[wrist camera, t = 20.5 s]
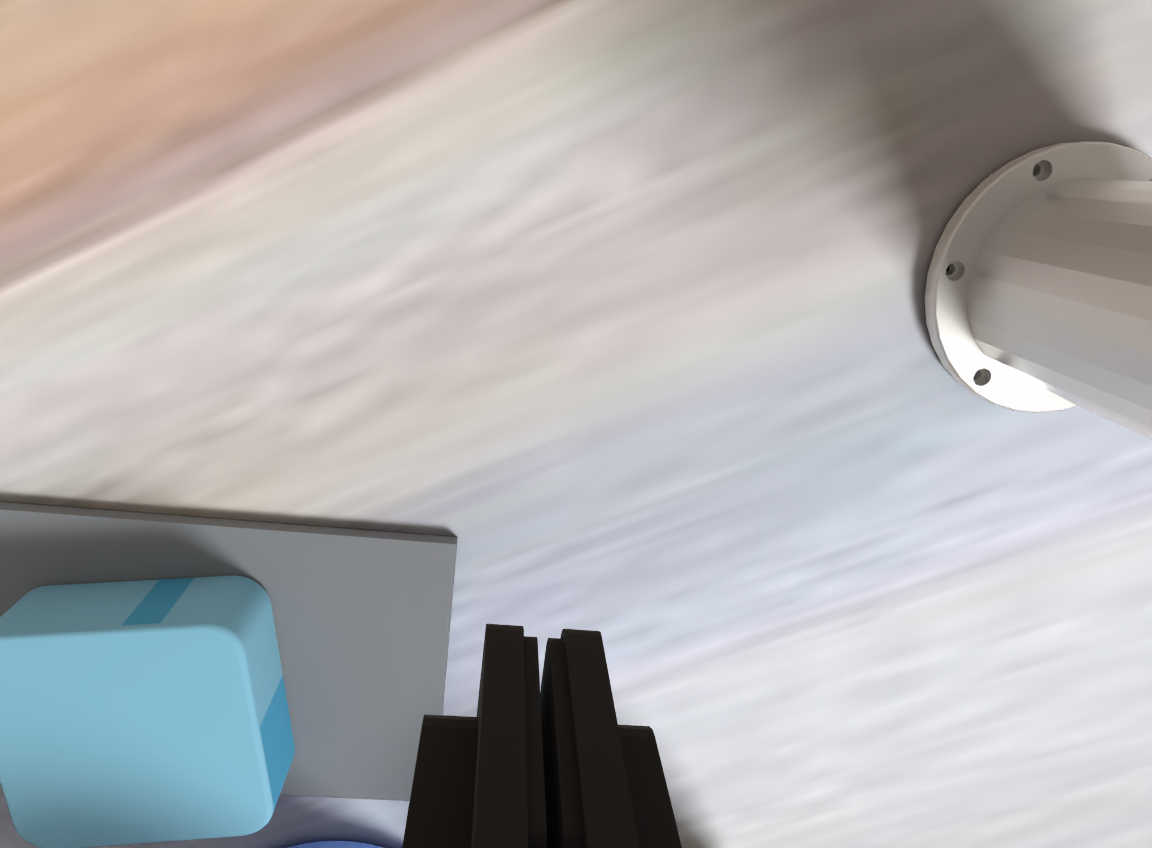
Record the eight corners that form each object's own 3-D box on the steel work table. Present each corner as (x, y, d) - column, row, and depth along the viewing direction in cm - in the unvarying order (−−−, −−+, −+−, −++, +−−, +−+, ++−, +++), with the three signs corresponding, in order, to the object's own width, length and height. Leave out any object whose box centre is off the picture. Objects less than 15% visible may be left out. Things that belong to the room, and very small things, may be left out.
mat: (457, 536, 40) (456, 544, 40) (435, 790, 45) (434, 801, 45) (-9, 501, 38) (-20, 507, 37) (22, 773, 43) (13, 784, 42)
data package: (267, 571, 39) (13, 585, 39) (238, 622, 35) (-49, 638, 34) (299, 768, 43) (69, 784, 43) (276, 835, 39) (19, 855, 38)
